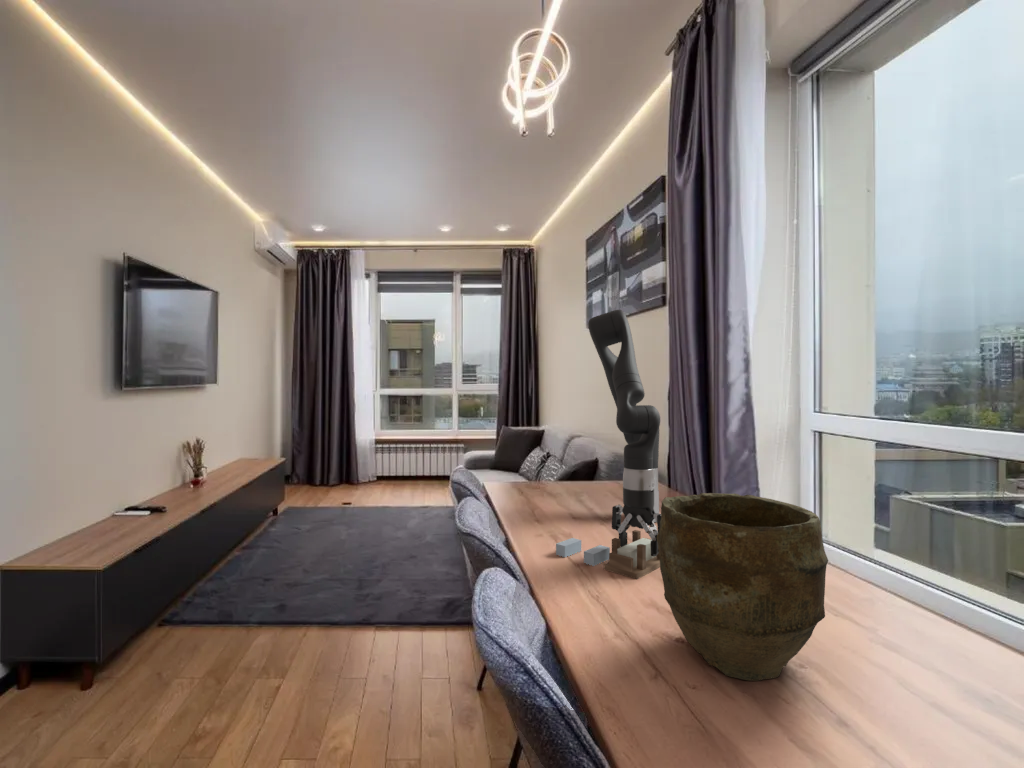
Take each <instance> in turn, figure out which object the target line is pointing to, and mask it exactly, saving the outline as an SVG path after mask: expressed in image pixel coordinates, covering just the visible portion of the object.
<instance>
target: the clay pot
mask: <svg viewBox="0 0 1024 768" xmlns="http://www.w3.org/2000/svg"><path fill="white" fill-rule="evenodd" d="M660 514H661V521H660V530H659V532H658V534H657V543H658V549H659V556H660V567H659V568H660V573H661V577H662V584H663V590H664V592H663V593H664V594H663V596H664V599H665V601H666V603H668V606H669V608H670V610H671V614H672V615H673V618H674V620H675V621H676V624H677V626H678V627H679V629H680V631H681V633H682V635H683V636H684V638H685V640H686V641H687V643H689V645H690V646H692V647H693V649H694V650H695V651H696V652H697V653H698V654H699V655H700V656H702V657H703V659H704V661H705V662H707V664H708V665H709V667H711V666H713V667H715V668H717V669H718V670H719V671H720V672H721V673H723V674H724V675H725V677H730V678H734V679H738V680H744V681H752V682H753V681H755V682H759V681H762V680H768V679H775V678H779V676H780V674H781V673H782V670H783V668H784V667H787V665H788V663H789V661H791V660H792V659H793V658H794V657H795V656H796V655H798V653H799V652H800V651H801V650H802V648H803V647H804V646H805V645H806V644H807V643H808V641H809V639H811V637H812V635H813V632H814V630H815V628H816V626H817V624H819V622H820V621H822V620H823V619H824V618H825V617H826V610H825V597H826V596H825V595H826V575H827V574H826V573H827V565H828V562H829V559H828V556H827V554H826V550H825V546H824V541H823V533H822V531H823V530H822V525H821V520H820V517H819V516H818V515H817V514H816V512H815V513H814V512H813V511H811V510H809V509H806V508H804V507H802V506H798V505H796V504H791V503H788V502H784V501H781V500H776V499H772V498H767V497H760V496H756V495H753V494H745V495H741V494H739V493H717V492H714V493H713V492H708V493H705V492H700V493H699V494H690V495H681V496H680V495H678V496H677V495H676V496H672V497H670V496H667V497H664V498H663V499H662V500H661V507H660Z"/></svg>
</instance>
